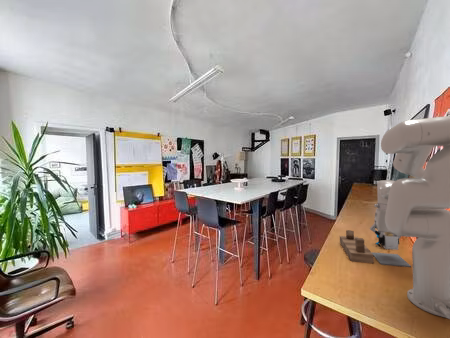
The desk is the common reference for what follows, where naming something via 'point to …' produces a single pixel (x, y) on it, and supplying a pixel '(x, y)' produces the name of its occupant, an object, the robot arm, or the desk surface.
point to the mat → (390, 259)
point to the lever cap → (390, 241)
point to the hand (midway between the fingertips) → (388, 244)
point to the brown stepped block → (356, 248)
